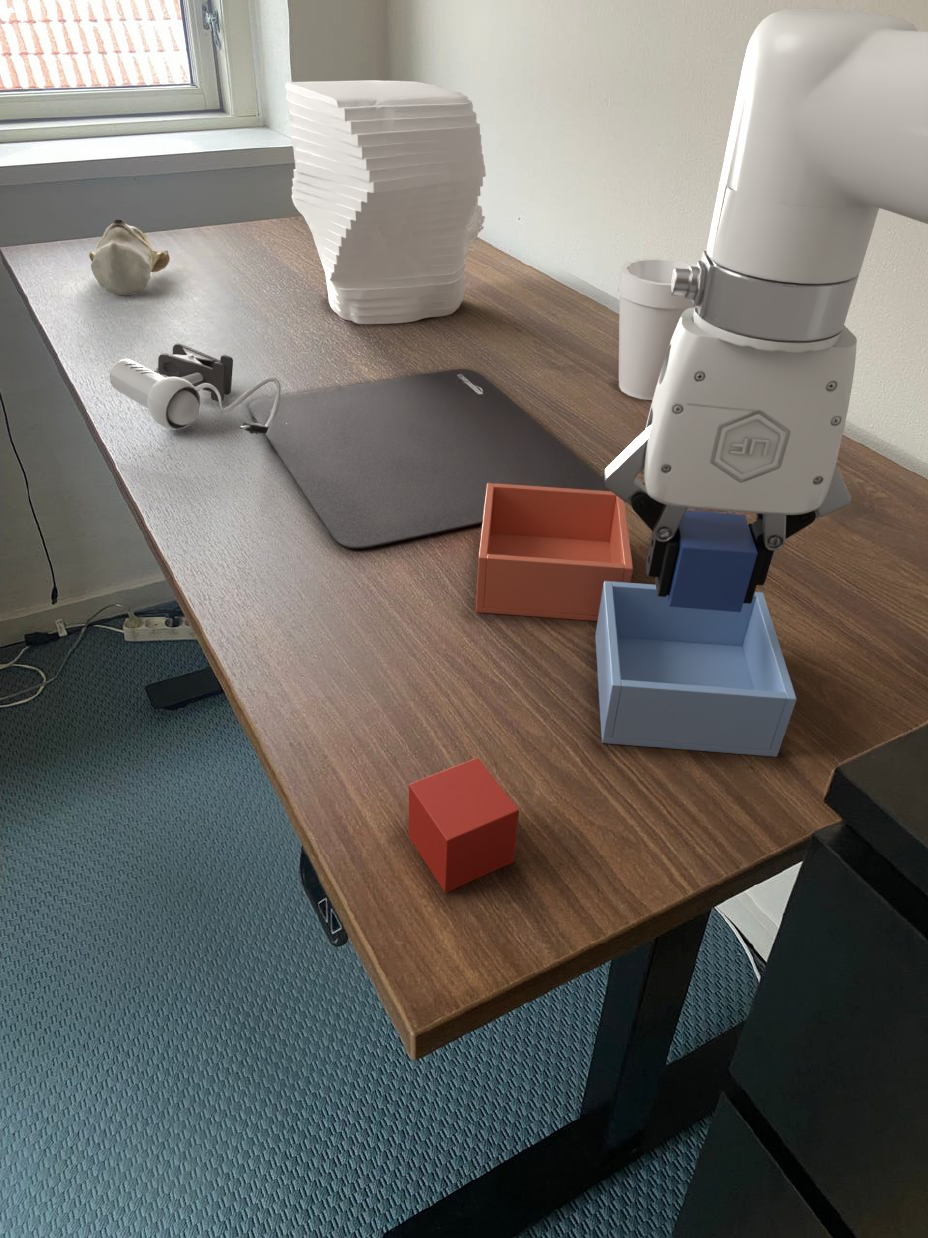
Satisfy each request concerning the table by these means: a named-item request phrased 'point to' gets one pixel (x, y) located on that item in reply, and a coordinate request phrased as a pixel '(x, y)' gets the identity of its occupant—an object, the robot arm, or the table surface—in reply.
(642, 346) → the foam cup
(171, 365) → the clip-on lamp
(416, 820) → the red block
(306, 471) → the mouse pad
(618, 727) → the blue bin
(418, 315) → the paper stack
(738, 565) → the blue block
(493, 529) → the red bin
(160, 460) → the table surface
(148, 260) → the ceramic sculpture
